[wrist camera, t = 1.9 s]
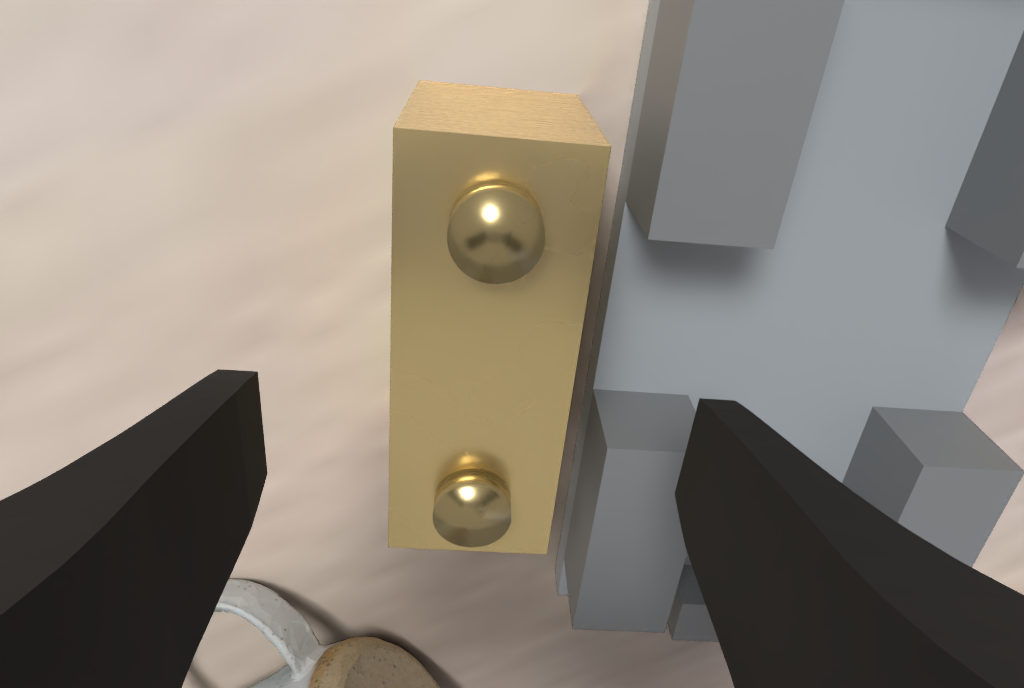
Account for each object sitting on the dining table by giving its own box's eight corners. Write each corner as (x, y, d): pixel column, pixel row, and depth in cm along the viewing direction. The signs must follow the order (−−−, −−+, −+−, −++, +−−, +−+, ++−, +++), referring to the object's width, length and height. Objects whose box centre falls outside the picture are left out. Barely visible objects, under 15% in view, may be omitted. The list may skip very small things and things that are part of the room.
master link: (576, 94, 16) (617, 155, 11) (533, 423, 20) (548, 575, 15) (419, 79, 16) (388, 136, 11) (409, 416, 20) (384, 567, 15)
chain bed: (1184, -147, 14) (1384, -178, 11) (855, 583, 23) (910, 677, 20) (683, -209, 13) (744, -260, 10) (555, 569, 23) (565, 665, 20)
